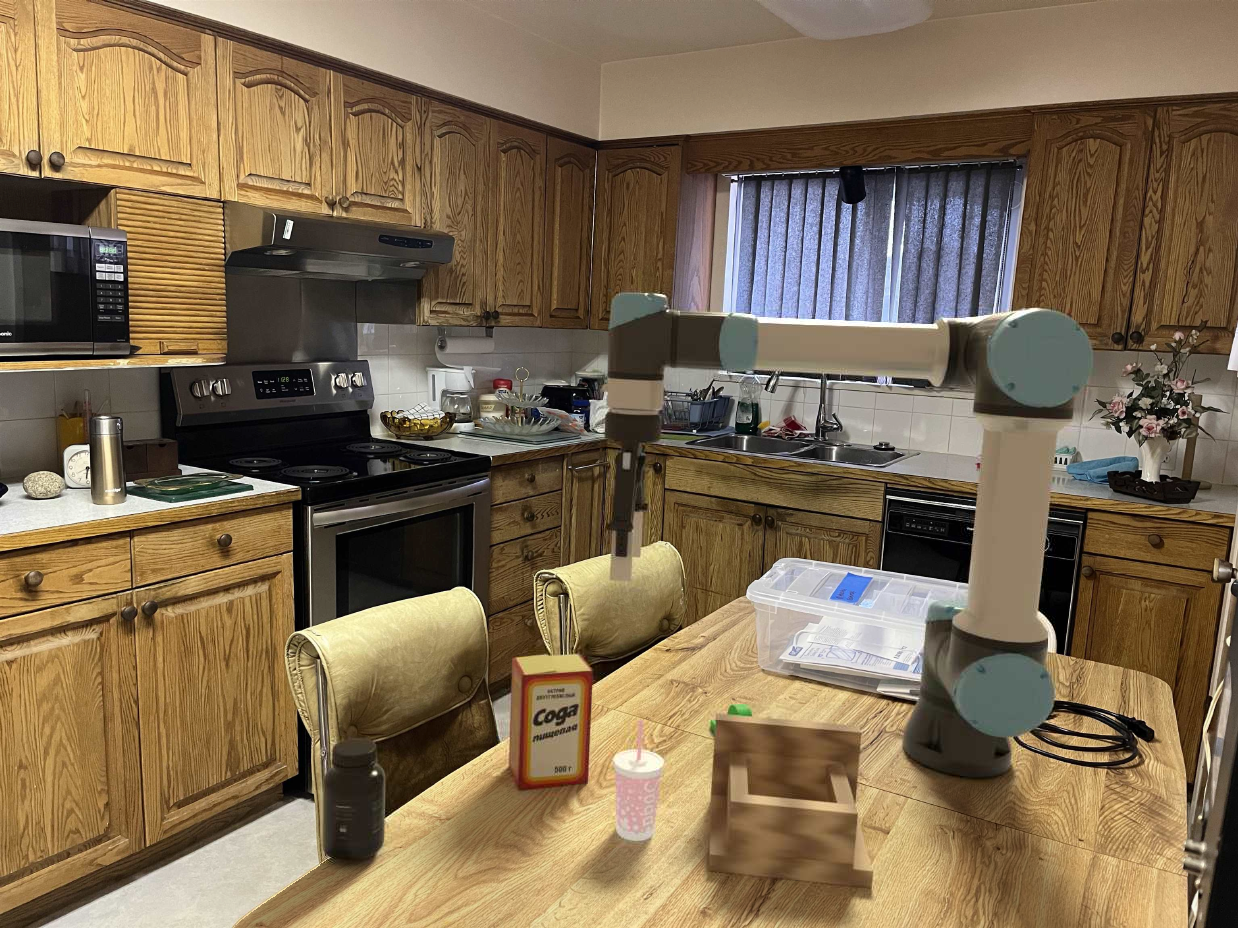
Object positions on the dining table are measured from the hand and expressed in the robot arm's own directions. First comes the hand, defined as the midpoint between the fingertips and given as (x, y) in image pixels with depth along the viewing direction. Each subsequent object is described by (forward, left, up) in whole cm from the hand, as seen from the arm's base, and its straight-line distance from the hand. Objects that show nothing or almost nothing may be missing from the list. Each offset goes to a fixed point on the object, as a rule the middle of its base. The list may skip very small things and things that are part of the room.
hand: (626, 567), depth 125 cm
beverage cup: (-4, +17, -28) cm, 33 cm away
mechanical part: (-18, -10, -29) cm, 35 cm away
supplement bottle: (+27, +26, -28) cm, 47 cm away
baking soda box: (+9, +5, -28) cm, 30 cm away
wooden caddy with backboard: (-22, +16, -28) cm, 39 cm away
